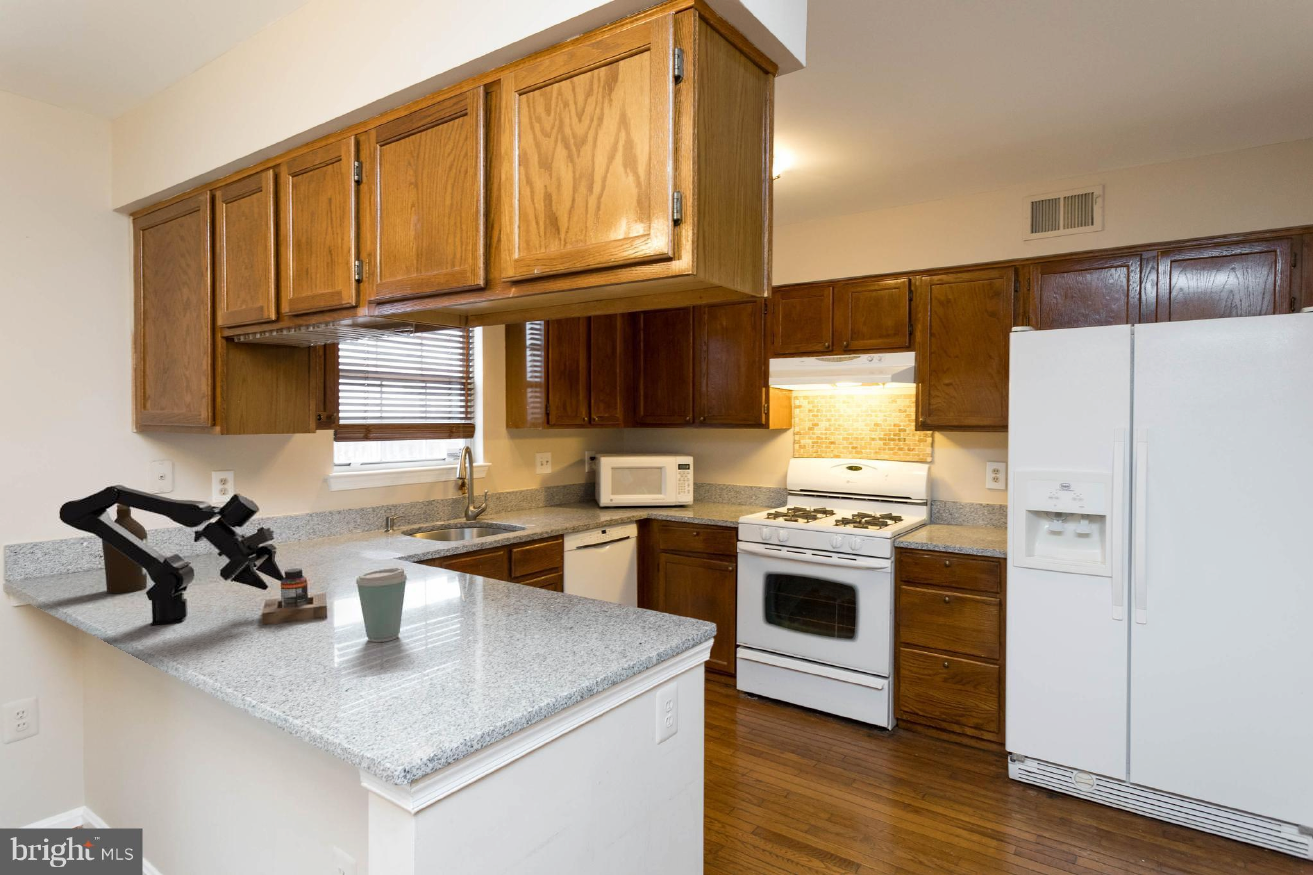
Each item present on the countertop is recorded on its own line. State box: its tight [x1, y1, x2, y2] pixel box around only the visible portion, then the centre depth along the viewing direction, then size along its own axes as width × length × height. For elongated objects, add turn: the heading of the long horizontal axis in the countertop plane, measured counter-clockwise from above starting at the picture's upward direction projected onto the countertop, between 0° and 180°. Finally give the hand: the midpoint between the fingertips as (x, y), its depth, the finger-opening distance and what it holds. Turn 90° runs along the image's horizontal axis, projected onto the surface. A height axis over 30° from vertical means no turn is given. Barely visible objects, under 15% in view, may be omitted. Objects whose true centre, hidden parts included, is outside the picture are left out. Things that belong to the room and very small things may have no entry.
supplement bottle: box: [280, 567, 309, 608], centre depth 180 cm, size 6×6×11 cm
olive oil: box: [101, 504, 148, 595], centre depth 210 cm, size 11×11×25 cm
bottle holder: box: [261, 592, 328, 626], centre depth 181 cm, size 14×14×3 cm
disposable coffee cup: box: [355, 567, 408, 643], centre depth 160 cm, size 11×11×15 cm
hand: (275, 584), depth 180 cm, fingers open, 9 cm apart
